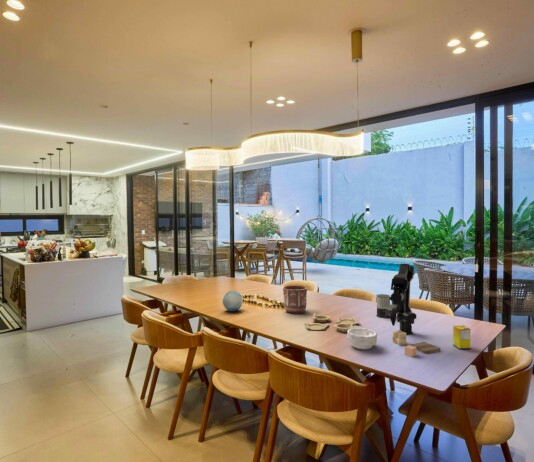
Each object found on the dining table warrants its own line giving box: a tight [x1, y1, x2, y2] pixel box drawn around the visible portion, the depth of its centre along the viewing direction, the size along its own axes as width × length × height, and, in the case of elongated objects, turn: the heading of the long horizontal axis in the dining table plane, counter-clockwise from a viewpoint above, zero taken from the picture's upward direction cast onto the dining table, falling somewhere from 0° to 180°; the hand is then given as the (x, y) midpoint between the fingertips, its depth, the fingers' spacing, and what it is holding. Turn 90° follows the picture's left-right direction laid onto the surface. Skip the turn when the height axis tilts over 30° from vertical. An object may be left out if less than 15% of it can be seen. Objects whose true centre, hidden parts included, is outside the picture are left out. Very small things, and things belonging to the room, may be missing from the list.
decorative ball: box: [222, 290, 244, 312], centre depth 255 cm, size 15×15×15 cm
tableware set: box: [303, 312, 361, 333], centre depth 219 cm, size 35×29×4 cm
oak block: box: [392, 329, 407, 346], centre depth 186 cm, size 5×5×6 cm
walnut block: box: [410, 341, 441, 355], centre depth 178 cm, size 10×10×2 cm
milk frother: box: [375, 293, 391, 319], centre depth 242 cm, size 14×16×15 cm
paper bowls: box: [346, 327, 378, 350], centre depth 182 cm, size 15×15×8 cm
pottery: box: [282, 284, 308, 315], centre depth 253 cm, size 18×18×18 cm
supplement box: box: [452, 324, 471, 350], centre depth 179 cm, size 6×6×11 cm
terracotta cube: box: [404, 344, 418, 358], centre depth 170 cm, size 4×4×4 cm
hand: (399, 327), depth 186 cm, fingers open, 9 cm apart
